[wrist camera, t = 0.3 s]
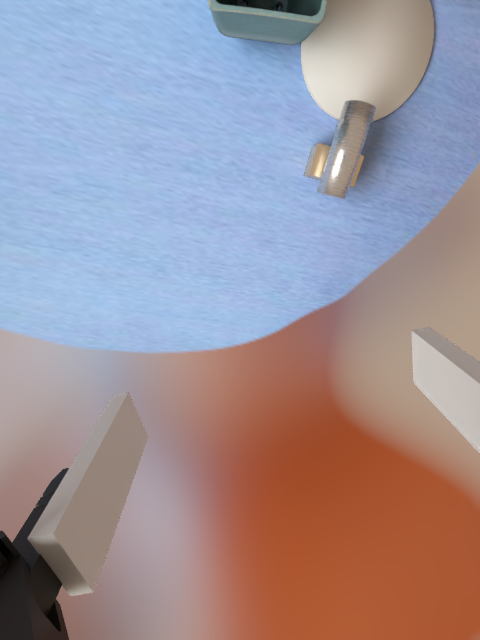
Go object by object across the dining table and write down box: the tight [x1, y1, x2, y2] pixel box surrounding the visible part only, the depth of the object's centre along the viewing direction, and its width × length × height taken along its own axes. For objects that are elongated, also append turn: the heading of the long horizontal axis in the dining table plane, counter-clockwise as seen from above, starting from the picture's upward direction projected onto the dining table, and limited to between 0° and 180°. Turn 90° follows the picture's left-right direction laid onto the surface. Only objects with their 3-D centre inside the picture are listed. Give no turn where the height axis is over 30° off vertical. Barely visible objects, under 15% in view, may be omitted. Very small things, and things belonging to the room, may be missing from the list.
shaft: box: [304, 100, 376, 199], centre depth 32 cm, size 8×5×6 cm, turn 166°
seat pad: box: [301, 0, 434, 122], centre depth 31 cm, size 13×13×1 cm
